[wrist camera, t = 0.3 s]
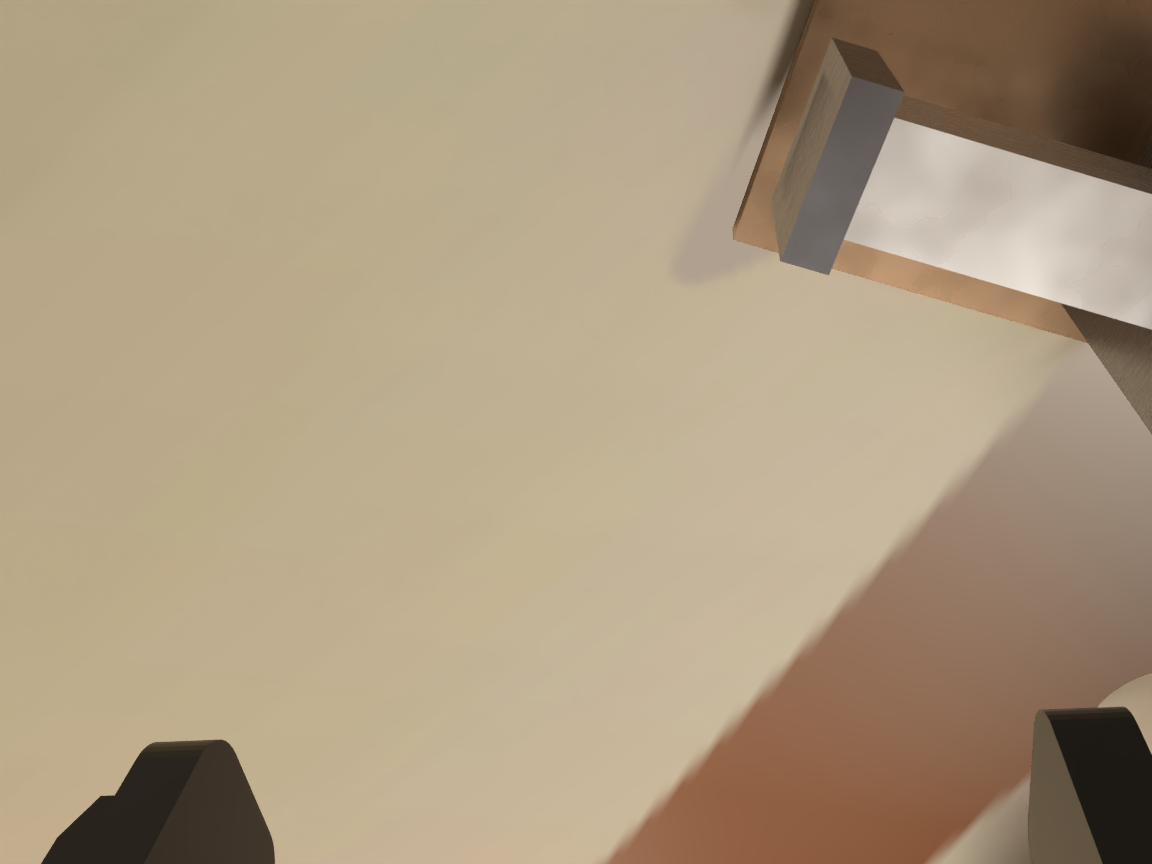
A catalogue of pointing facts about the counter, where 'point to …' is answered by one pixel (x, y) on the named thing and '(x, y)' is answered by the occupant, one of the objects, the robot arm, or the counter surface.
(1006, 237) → the shaft
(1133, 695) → the cylindrical container
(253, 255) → the counter surface
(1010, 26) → the block
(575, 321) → the counter surface
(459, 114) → the counter surface
